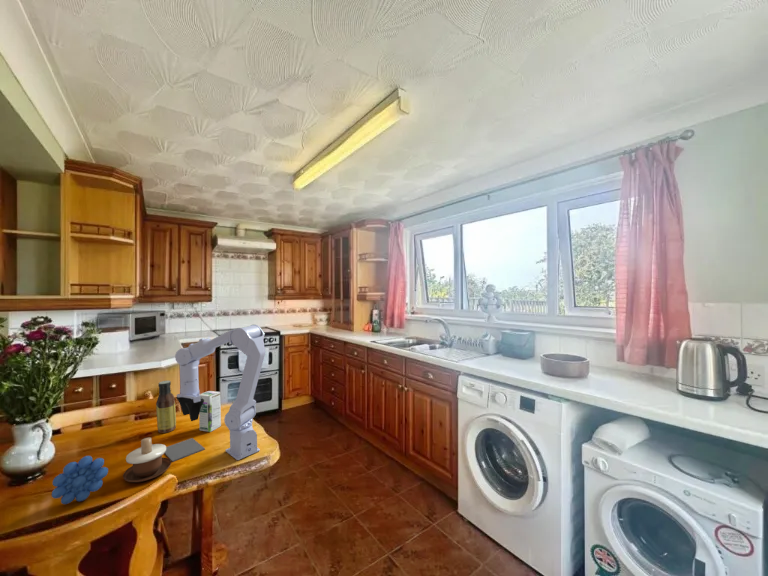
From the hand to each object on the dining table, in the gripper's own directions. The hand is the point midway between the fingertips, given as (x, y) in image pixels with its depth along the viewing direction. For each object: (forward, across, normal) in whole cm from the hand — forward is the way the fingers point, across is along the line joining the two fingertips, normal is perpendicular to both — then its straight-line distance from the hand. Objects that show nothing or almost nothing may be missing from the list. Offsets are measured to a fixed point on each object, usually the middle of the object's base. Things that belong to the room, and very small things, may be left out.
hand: (190, 417), depth 116 cm
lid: (+4, +8, -15) cm, 18 cm away
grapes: (+11, +8, -30) cm, 33 cm away
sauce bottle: (+11, -21, -2) cm, 24 cm away
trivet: (+10, +1, -3) cm, 11 cm away
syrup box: (+11, -9, +10) cm, 17 cm away
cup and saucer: (+11, +8, -15) cm, 20 cm away
